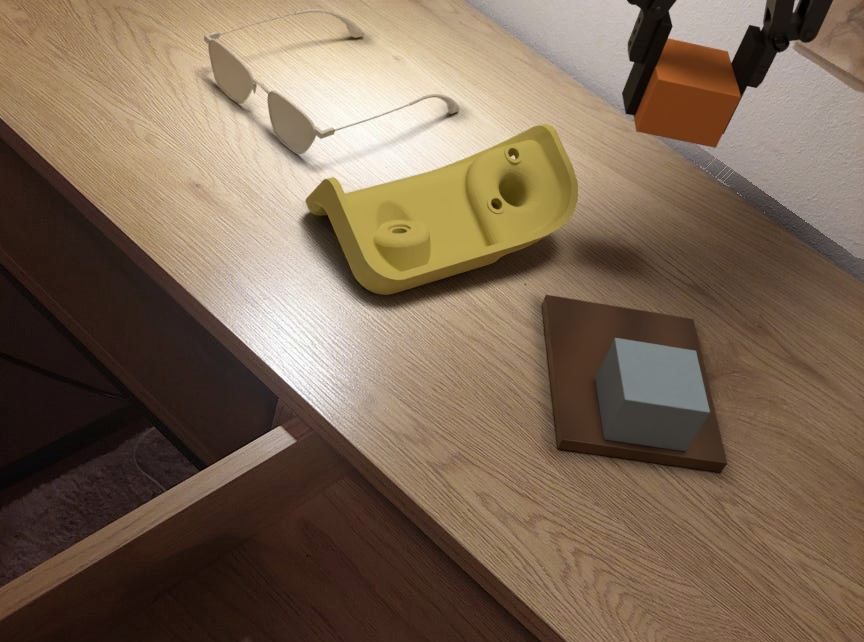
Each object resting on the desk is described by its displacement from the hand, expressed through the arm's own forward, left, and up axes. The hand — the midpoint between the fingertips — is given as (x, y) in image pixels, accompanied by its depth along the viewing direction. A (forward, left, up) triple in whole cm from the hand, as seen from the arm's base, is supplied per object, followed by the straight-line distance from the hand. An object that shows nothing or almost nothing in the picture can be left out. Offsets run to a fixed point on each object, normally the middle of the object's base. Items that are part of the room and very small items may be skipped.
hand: (672, 113), depth 77 cm
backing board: (0, +15, -13) cm, 20 cm away
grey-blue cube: (0, +19, -12) cm, 22 cm away
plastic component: (+14, +2, -13) cm, 19 cm away
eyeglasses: (+23, -16, -13) cm, 31 cm away
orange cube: (0, 0, 0) cm, 0 cm away
